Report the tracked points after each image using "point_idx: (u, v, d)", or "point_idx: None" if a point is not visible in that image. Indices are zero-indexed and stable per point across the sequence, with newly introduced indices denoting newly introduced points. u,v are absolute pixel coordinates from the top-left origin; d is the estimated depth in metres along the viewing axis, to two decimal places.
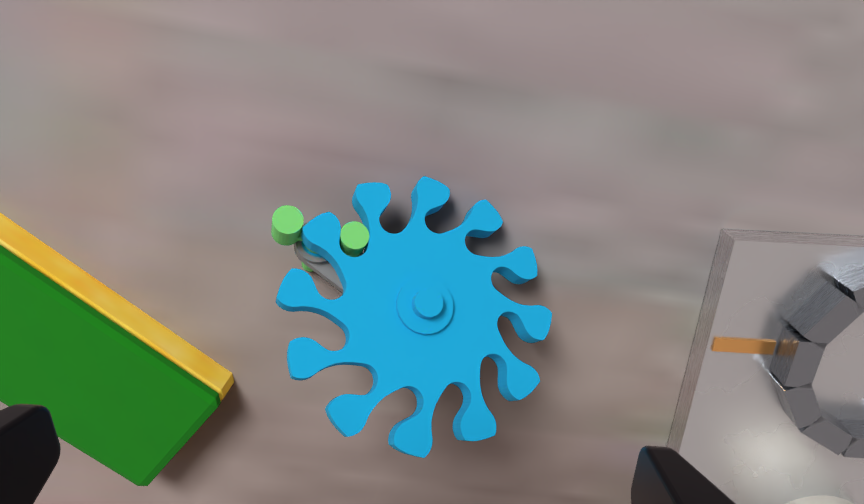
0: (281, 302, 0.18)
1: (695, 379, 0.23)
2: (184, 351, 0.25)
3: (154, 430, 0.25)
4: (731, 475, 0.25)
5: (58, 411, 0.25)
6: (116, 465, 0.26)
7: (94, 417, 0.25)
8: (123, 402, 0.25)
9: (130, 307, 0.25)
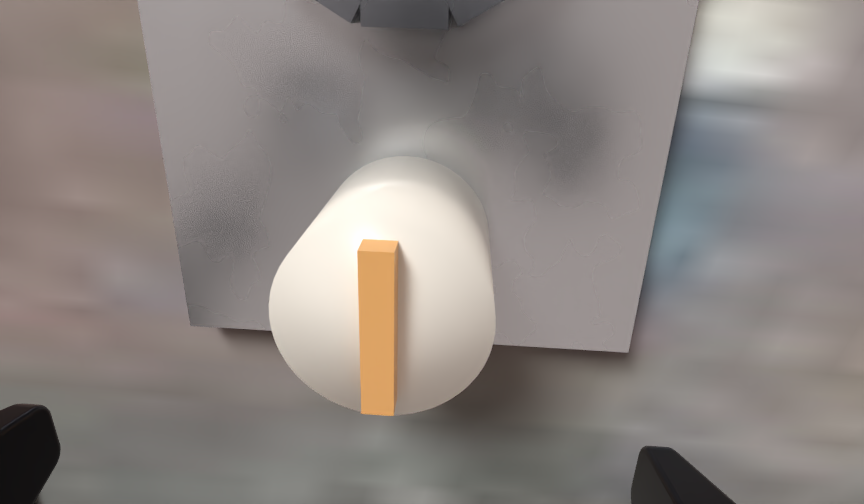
0: None
1: None
2: None
3: None
4: (246, 120, 0.15)
5: None
6: None
7: None
8: None
9: None
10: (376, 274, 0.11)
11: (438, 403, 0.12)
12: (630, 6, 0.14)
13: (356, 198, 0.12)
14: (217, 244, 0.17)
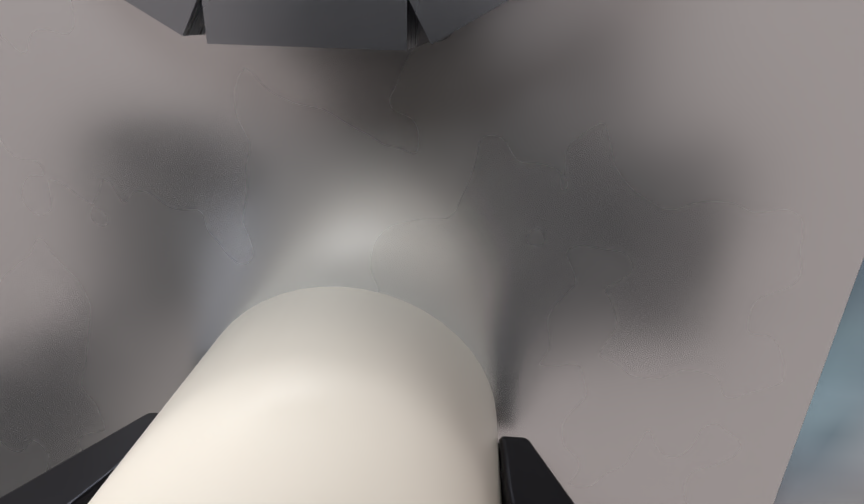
0: None
1: None
2: None
3: None
4: (31, 220, 0.08)
5: None
6: None
7: None
8: None
9: None
10: None
11: None
12: None
13: (166, 484, 0.05)
14: (14, 424, 0.09)
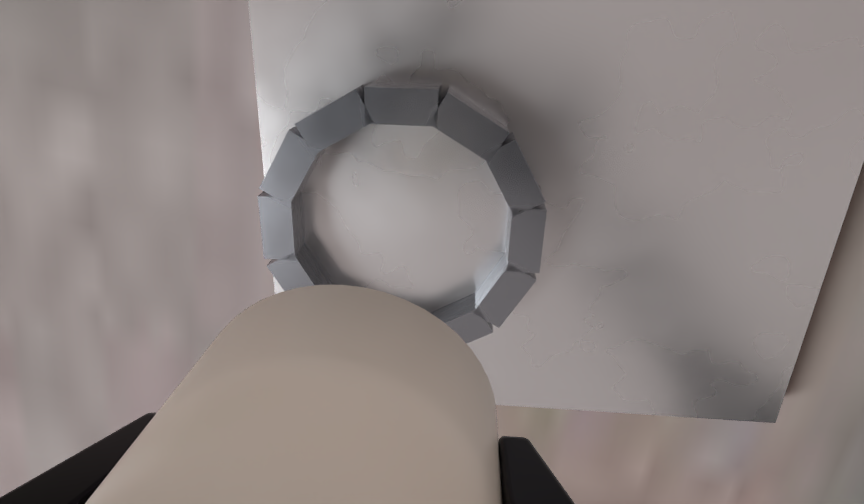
0: None
1: None
2: None
3: None
4: (598, 351, 0.19)
5: None
6: None
7: None
8: None
9: None
10: None
11: None
12: (535, 47, 0.16)
13: (165, 482, 0.05)
14: (700, 388, 0.20)
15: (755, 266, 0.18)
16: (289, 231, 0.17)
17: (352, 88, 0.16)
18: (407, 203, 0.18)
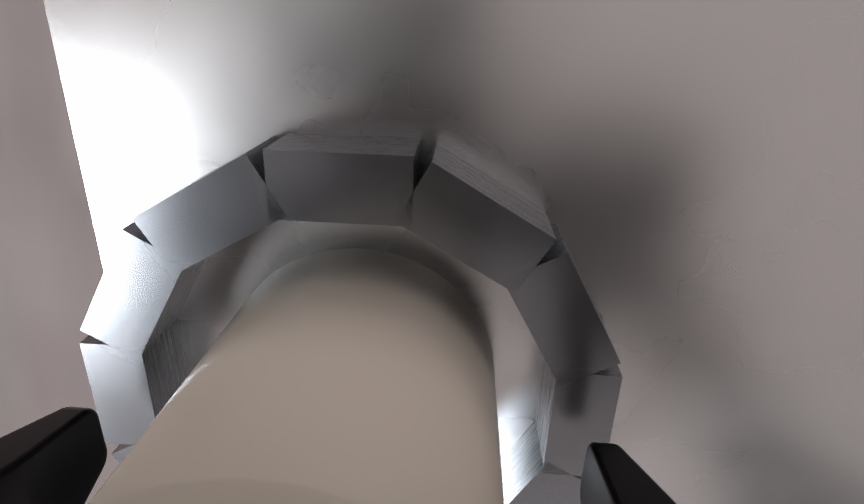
0: None
1: None
2: None
3: None
4: None
5: None
6: None
7: None
8: None
9: None
10: None
11: None
12: (606, 68, 0.08)
13: (232, 385, 0.06)
14: None
15: None
16: (145, 400, 0.09)
17: (254, 143, 0.09)
18: None
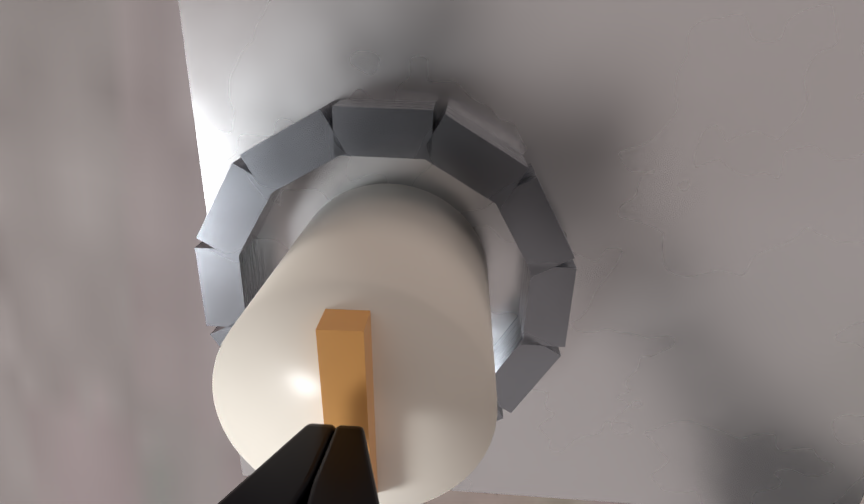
0: None
1: None
2: None
3: None
4: (634, 434, 0.15)
5: None
6: None
7: None
8: None
9: None
10: (342, 357, 0.08)
11: (428, 498, 0.10)
12: (563, 52, 0.12)
13: (320, 249, 0.10)
14: (760, 479, 0.16)
15: (840, 334, 0.14)
16: (238, 292, 0.13)
17: (319, 106, 0.12)
18: None
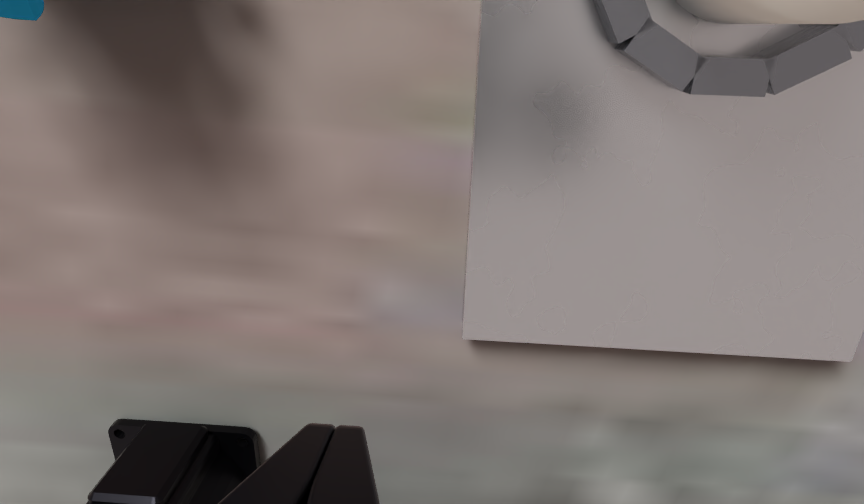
0: None
1: None
2: None
3: None
4: (551, 166, 0.18)
5: None
6: None
7: None
8: None
9: None
10: None
11: None
12: None
13: None
14: (502, 269, 0.19)
15: (638, 295, 0.19)
16: None
17: None
18: None
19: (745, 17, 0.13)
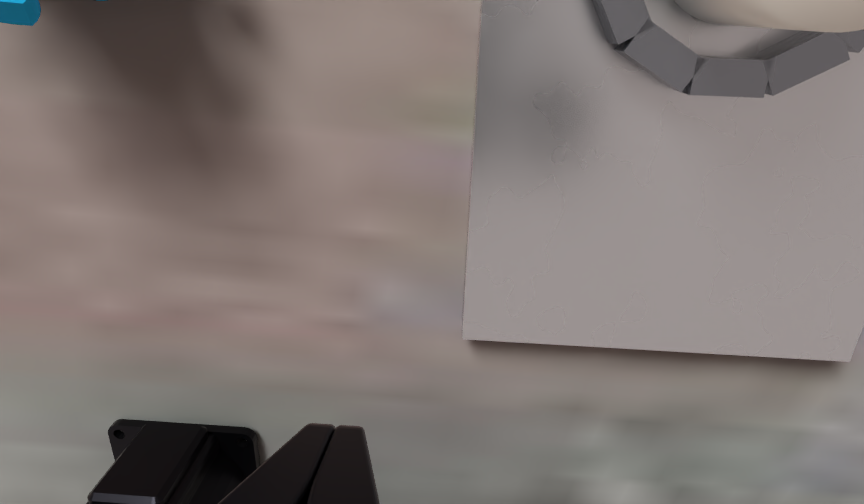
0: None
1: None
2: None
3: None
4: (551, 166, 0.18)
5: None
6: None
7: None
8: None
9: None
10: None
11: None
12: None
13: None
14: (502, 269, 0.19)
15: (637, 295, 0.19)
16: None
17: None
18: None
19: (750, 23, 0.13)
